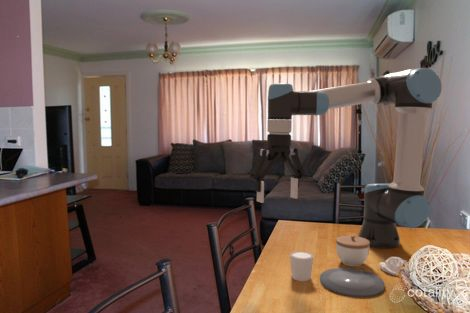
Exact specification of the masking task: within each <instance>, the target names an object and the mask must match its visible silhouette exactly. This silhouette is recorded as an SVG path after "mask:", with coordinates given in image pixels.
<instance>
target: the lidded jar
mask: <svg viewBox="0 0 470 313" xmlns="http://www.w3.org/2000/svg"><path fill="white" fill-rule="evenodd" d="M335 242H336V244H335V246H336V247H335V248H336V253H337V256H338V258H339V260H340V261H341V262H342V264H343V265H345V266H349V267H360V266H362V264H363V263H365V262H366V260H367V259H368V258H369V257H368V256H369V254H370V247H371V246H370V242H369V240H367V239H365V238H362V237H358V236H355V235H354V234H352V235H341V236H338V237H337V238H336V239H335Z"/></svg>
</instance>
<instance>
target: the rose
mask: <svg viewBox="0 0 470 313" xmlns="http://www.w3.org/2000/svg"><path fill="white" fill-rule="evenodd" d="M407 261H408V260H406V259H403V258H401V257H399V256H390V257H388V258H387V259H386V260H385V262H382V261H381V262H379V266H378V267H379V268H380V269H381V271H382V272H386V273H387V274H388V273H389V274H388V275H391V274H392V276H394V275H396V276H395V277H399V276H398V271H399V269H400V268H401V267H402V266H403V264H404V263H406V262H407Z"/></svg>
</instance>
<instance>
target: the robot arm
mask: <svg viewBox="0 0 470 313" xmlns="http://www.w3.org/2000/svg"><path fill="white" fill-rule="evenodd" d="M441 81H442V80H441V78H440V76H439V75H438V74H437V72H435V71H434V70H433V69H431V68H428V67H415V68H411V69H410V68H409V69H406V70H399V71H394V72H391V73H388V74H385V75H382V76H381V75H380V76H378V77H373V78H369V79H368V80H367V81H366V82H360V83H358V82H357V83H353V84H346V85H338V86H335V87H326V88H321V89H315V90H309V91H308V90H307V91H301V90H300V91H299V90H298V91H297V90H294V88H293V85H292V84H291V83H279V82H278V83H272V84H270V85H269V86H268V91H267V133H268V134H266V144H267V149H263V148H259V150H258V156H257V158H256V161H255V164H254V165H253V168H252V170H251V173H250V175H249V179H250V180H253V181H254V185H255V186H254V191H255V192H256V202H258V203H261V204H262V203H264V201H265V181H263V180H264V178H265V176H266V175H267V174H268V172H269V171H270V169H271V168H272V166H273V165H275V164H281V163H282V164H284V165H285V166H286V168H287V170H288V171H289V173H290V174H291V175H292V177H290V195H289V196H290V198H292V199H296V200H297V199H298V196H299V193H298V192H299V187H300V180H301V179H302V178H303V177H304V176H305V171H304V169H303V164H302V162H301V160H300V156H299V151H298V150H299V149H298V148H296V147H295V148H294V147H291V145H292V135H291V134H290V133H292V124H293V122H292V121H293V120H292V119H293V118H292V116H315V117H316V116H323V115H326V113H327V112H328V111H329V110H333V109H340V108H345V107H351V106H357V105H358V106H359V105H364V104H370V105H372V106H373V105H375V106H376V105H381V104H383V105H384V104H388V105H389V104H390V105H391V104H392V105H394V110H396V112H398V121H397V122H398V123H397V131H396V132H397V134H396V146H395V147H396V149H395V155H394V156H395V157H394V158H395V159H394V169H393V170H394V171H393V180H392V182H390V183H369V184H366V185H365V189H364V192H363V195H364V199H363V200H364V201H363V204H364V205H363V221H362V225H361V227H360V230H359V232H358V236H357V237H362V238H365V239H367V240H369V242H370V246H369V247H371V248H377V249H394V248H398V247H399V246H400V245H401V244H400V242H401V238H400V235H399V232H398V228H397V225H398V226H400V227H405V228H408V229H414V228H418V227H421V225H423V223H425V222H426V221H427V220H428V218H429V216H430V213H431V204H430V202H429V201H428V199H427V198H426V197H425V188H424V187H423V186H422V185H421V177H422V176H421V175H422V168H423V167H422V163H423V155H424V154H423V153H424V143H425V132H426V122H427V114H428V113H429V112H431V110H432V109H433V103H434V102H435V101H436V100H438V98H439V97H440V96H441V93H442V90H443V89H442V82H441ZM290 147H291V148H290Z"/></svg>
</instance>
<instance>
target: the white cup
mask: <svg viewBox="0 0 470 313" xmlns="http://www.w3.org/2000/svg"><path fill="white" fill-rule="evenodd" d="M289 255H290V271H291V278H292V279H293V280H295V281H297V282H298V281H299V282H306V281H307V282H308V281H310V280H311V278H312V271H313V261H314V255H313V254H312V253H311V252H307V251H292V252H291V253H290V254H289Z"/></svg>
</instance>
